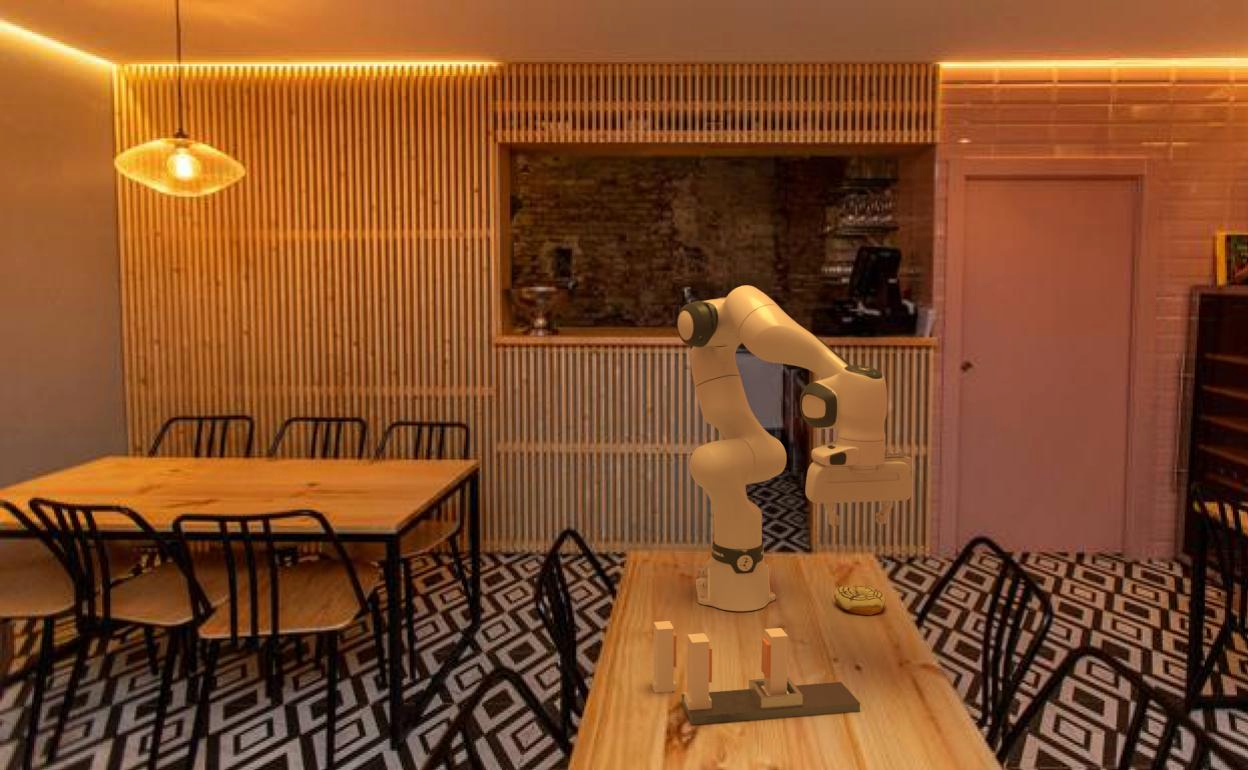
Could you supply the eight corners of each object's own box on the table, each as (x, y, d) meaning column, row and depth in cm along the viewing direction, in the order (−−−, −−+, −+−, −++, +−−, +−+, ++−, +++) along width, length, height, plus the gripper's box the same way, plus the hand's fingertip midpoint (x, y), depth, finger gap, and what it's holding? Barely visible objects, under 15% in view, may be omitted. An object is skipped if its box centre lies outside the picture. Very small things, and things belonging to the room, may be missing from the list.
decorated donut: (842, 617, 188) (843, 600, 187) (828, 599, 199) (828, 582, 199) (892, 616, 188) (892, 598, 188) (874, 597, 200) (875, 581, 199)
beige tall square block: (760, 694, 148) (761, 629, 147) (782, 692, 149) (783, 627, 148) (766, 703, 145) (768, 637, 144) (789, 701, 145) (790, 635, 144)
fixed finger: (684, 700, 146) (684, 634, 145) (706, 698, 147) (707, 633, 145) (688, 710, 143) (689, 642, 141) (712, 708, 143) (712, 641, 142)
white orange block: (651, 684, 155) (651, 622, 154) (672, 682, 156) (672, 620, 155) (654, 693, 152) (654, 629, 151) (676, 691, 153) (677, 628, 151)
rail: (681, 702, 148) (681, 683, 148) (840, 689, 153) (841, 671, 153) (691, 725, 141) (692, 705, 140) (859, 711, 145) (860, 692, 145)
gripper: (903, 447, 162) (900, 517, 163) (803, 450, 159) (801, 521, 160) (920, 454, 156) (916, 526, 157) (816, 457, 152) (813, 530, 154)
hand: (857, 523), depth 159 cm, fingers open, 8 cm apart
